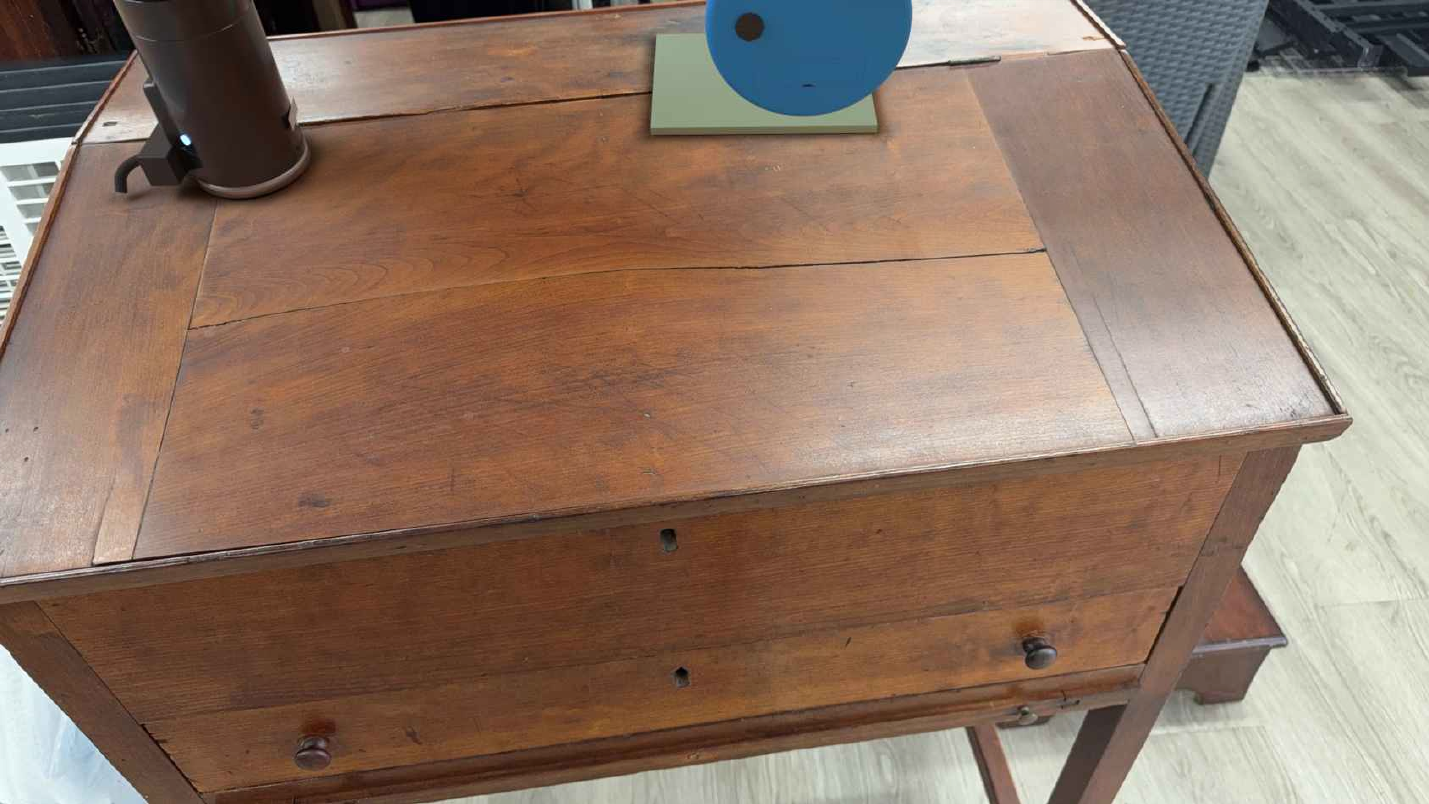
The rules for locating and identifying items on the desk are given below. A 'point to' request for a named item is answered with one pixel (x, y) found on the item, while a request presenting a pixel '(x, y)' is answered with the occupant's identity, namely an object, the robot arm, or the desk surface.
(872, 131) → the mat
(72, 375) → the desk surface
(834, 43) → the alarm clock
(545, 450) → the desk surface
